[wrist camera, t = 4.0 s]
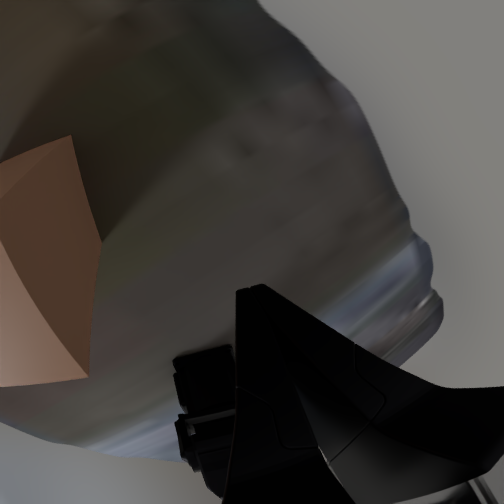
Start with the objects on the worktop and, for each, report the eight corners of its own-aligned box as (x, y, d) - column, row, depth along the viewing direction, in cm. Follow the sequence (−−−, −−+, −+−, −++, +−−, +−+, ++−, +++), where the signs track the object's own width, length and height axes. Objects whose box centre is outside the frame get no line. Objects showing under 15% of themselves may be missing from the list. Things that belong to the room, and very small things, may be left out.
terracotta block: (71, 134, 14) (-12, 212, 5) (102, 243, 18) (89, 377, 10) (-3, 164, 12) (-97, 258, 4) (35, 261, 17) (-2, 387, 9)
